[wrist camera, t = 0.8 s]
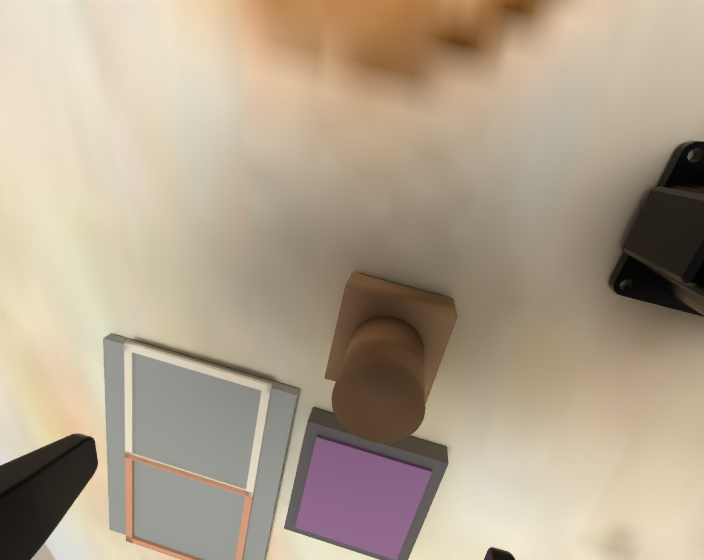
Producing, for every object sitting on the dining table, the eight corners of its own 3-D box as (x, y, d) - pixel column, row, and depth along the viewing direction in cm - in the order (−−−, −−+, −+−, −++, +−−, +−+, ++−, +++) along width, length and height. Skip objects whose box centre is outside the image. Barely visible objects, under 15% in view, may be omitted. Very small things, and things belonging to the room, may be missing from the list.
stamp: (452, 295, 19) (468, 367, 13) (423, 377, 20) (425, 475, 14) (354, 268, 19) (324, 327, 13) (335, 352, 21) (300, 437, 15)
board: (300, 385, 22) (296, 393, 21) (262, 574, 28) (258, 585, 28) (110, 329, 23) (100, 335, 22) (115, 524, 29) (107, 534, 29)
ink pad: (446, 447, 22) (448, 466, 20) (405, 548, 25) (404, 570, 24) (313, 407, 22) (306, 423, 21) (289, 511, 26) (282, 531, 24)
